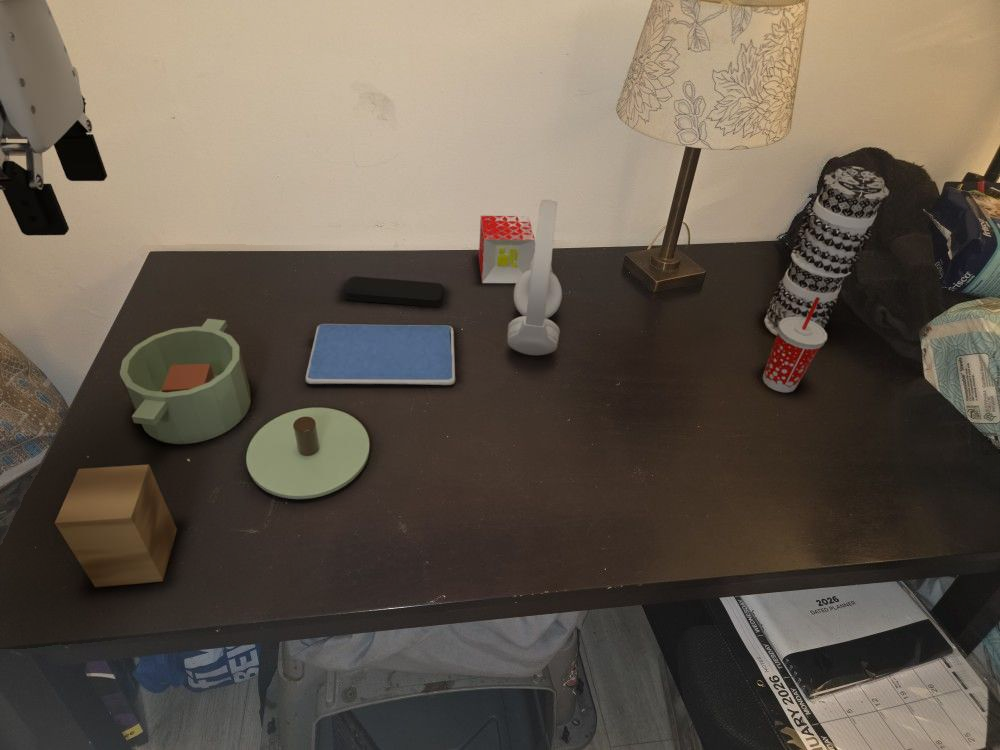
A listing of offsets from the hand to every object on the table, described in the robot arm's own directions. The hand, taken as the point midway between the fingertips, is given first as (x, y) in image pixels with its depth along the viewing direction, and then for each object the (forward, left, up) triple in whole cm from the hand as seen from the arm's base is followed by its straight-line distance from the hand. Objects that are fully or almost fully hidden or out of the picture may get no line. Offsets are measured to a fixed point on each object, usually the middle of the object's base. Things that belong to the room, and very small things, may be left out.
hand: (68, 204), depth 54 cm
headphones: (+30, -40, -31) cm, 59 cm away
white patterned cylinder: (+40, -80, -31) cm, 95 cm away
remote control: (+36, -18, -31) cm, 51 cm away
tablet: (+21, -20, -31) cm, 42 cm away
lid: (+2, -16, -30) cm, 34 cm away
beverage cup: (+26, -75, -31) cm, 85 cm away
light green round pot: (+8, 0, -30) cm, 31 cm away
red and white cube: (+47, -34, -31) cm, 66 cm away
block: (+7, 0, -30) cm, 31 cm away
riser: (-13, -4, -30) cm, 33 cm away
